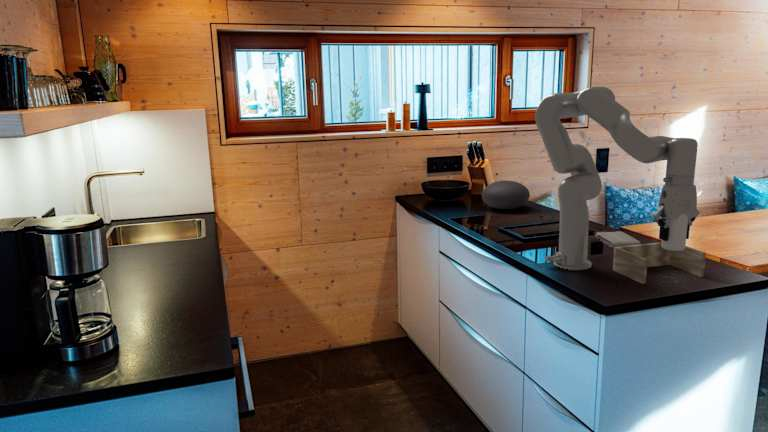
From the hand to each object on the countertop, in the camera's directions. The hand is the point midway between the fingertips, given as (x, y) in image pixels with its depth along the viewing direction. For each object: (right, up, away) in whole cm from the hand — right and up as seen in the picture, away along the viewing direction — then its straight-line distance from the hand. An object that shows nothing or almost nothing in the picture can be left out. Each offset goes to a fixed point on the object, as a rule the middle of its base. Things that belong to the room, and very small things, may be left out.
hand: (673, 238), depth 168 cm
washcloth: (+6, -4, +55) cm, 55 cm away
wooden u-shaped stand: (+2, -12, +15) cm, 20 cm away
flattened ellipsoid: (-24, +10, +124) cm, 127 cm away
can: (0, -3, +1) cm, 3 cm away
